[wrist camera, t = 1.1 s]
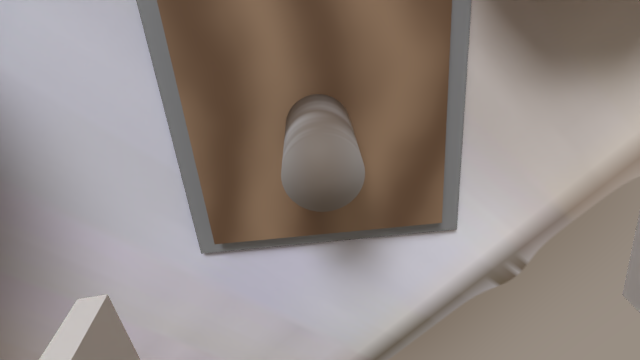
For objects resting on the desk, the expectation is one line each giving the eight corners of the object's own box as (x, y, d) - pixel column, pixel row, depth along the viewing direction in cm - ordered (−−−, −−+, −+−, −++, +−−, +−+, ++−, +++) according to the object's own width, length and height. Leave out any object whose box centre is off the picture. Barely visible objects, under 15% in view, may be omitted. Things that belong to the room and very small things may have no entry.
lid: (217, 234, 32) (192, 317, 24) (162, -3, 25) (104, 13, 17) (437, 213, 32) (478, 290, 24) (446, -30, 24) (509, -26, 17)
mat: (202, 249, 33) (201, 253, 32) (131, -30, 24) (128, -30, 24) (454, 225, 33) (456, 229, 32) (472, -63, 24) (475, -63, 24)
